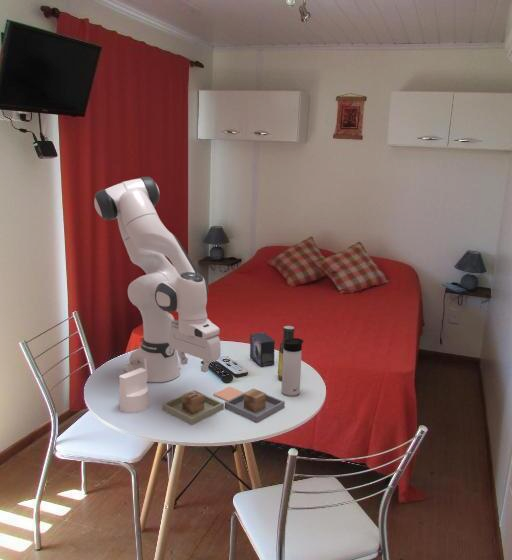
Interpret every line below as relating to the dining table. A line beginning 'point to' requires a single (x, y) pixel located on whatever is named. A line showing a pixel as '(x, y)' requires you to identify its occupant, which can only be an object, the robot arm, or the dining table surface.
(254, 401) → the plain block
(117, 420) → the dining table surface
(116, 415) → the dining table surface
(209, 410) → the tray olive
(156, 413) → the dining table surface
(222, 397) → the terracotta tile
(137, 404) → the cylinder with rectangular tab
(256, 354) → the small box
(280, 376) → the sauce bottle
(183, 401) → the letter cube
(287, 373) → the travel mug
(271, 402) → the tray charcoal
